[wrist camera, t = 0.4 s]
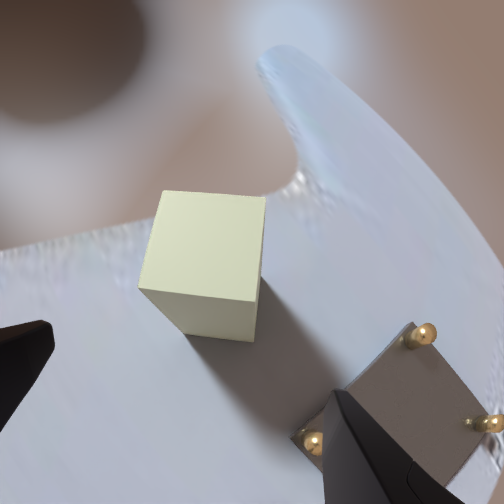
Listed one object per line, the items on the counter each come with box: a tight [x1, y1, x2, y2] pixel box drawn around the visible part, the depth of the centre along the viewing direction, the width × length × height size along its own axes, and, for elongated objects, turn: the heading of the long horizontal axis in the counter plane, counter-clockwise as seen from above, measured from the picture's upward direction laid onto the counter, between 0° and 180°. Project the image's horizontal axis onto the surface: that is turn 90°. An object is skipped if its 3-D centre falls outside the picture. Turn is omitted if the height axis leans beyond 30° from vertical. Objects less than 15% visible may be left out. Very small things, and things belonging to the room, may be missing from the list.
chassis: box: [289, 322, 504, 486], centre depth 17 cm, size 12×12×3 cm
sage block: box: [137, 191, 266, 342], centre depth 19 cm, size 5×5×10 cm
